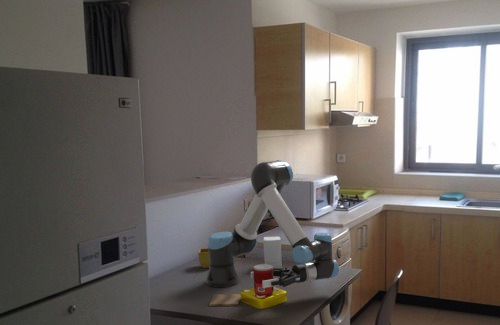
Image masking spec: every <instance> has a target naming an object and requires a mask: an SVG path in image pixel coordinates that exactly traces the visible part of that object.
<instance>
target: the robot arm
mask: <svg viewBox="0 0 500 325" xmlns="http://www.w3.org/2000/svg"><path fill="white" fill-rule="evenodd" d="M250 174H251V175H250V184H251V186H252V188H253V191H254V192H255V195H254V196H253V199H252V200H251V202H250V204H249V205H248V208H247V211H246V212H245V214H244V216H243V218H242V220H241V222H240V223H238V224H236V225H235V226H234V229H233V231H232V232H231V231H219V232H214V233H212V234H211V235H209V237H208V244H207V248H209V266H210V267H209V268H208V271H207V272H208V273H207V275H206V285H207V286H209V287H212V288H213V287H214V288H228V287H231V286H232V287H233V286H235V285H237V284H238V283H239V275H238V273H237V270H236V267H235V262H234V261H235V260H234V258H236V257H239V256H244V255H246V254H247V255H248V254H249V253H251V252H253V251H254V250H255V249H256V247H257V245H258V240H257V239H258V232H257V231H258V229H259V227H260V225H261V223H262V221H263V220H264V218H265V216H266V214H267V212H268V211H269V212H270V214H271V215H272V217H273V218H274V220H275V222H276V223H277V225H278V227H279V228H280V230H281V232H282V233H283V235H284V236H285V238H286V239H287V241H288V243H289V244H290V246H291V248H292V252H291V255H292V259H293V261H294V262H295V263H296V264H294V265H293V266H292V268H291V269H290V268H288V267H282V268H273V277H276V278H273V279H271V280H264V281H262V283H263V288H267V287H277V286H279V287H283V288H286V287H288V286H291V285H292V284H296V283H297V284H299V283H304V282H308V283H311V282H312V281H317V280H324V279H325V280H326V279H331V278H335V277H337V276H338V275H339V273H340V267H339V264H338V262H337V260H336V259H333V241H332V240H333V239H332V234H330V233H328V232H317V233H314V235H313V240H312V241H310V239H309V237H308V236H307V234H306V233H305V231H304V230H303V229H302V228H303V227H302V226H301V225H300V224H299V222H298V220H297V219H296V216H295V215H294V214H293V213H292V211H291V210H290V208H289V206H288V204H287V203H286V202H285V199H284V198H283V197H282V195H281V192H282V191H283V189H284V187H285V186H287V185H290V184H291V182H292V181H293V178H294V171H293V168H292V166H291V165H290V164H289V163H288V162H286V161H284V160H280V159H279V160H272V161H262V162H260V163H257V164H256V165H255V166H254V167H253V168H252V171H251V173H250ZM277 277H278V278H277ZM250 279H252V280H254V271H251V272H250Z"/></svg>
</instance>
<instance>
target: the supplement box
mask: <svg viewBox="0 0 500 325" xmlns="http://www.w3.org/2000/svg"><path fill="white" fill-rule="evenodd" d="M281 243H282V242H281V237H280V236H263V256H264V257H263V260H264V263H263V264H269V265H272V266H273V268H283V267H282V266H283V265H282V244H281Z"/></svg>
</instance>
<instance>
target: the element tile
mask: <svg viewBox="0 0 500 325" xmlns="http://www.w3.org/2000/svg"><path fill="white" fill-rule="evenodd" d="M273 287H274V291H273V293H272V294H270V295H266V296H261V295H257V294H255V292H254V286H253V287H251V288H246V289H244V290H240V291H239V294H240V295H241V298H240V302H242V303H244V304H246V305H248V306H251V307H254V308H256V309H260V310H262V309H263V310H264V309H267V308H270V307H273V306H277V305H280V304H283V303H285V302H287V300H288V297H287V291H286V290H284V289H281V288H278V287H277V286H273Z"/></svg>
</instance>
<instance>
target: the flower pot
mask: <svg viewBox="0 0 500 325" xmlns="http://www.w3.org/2000/svg"><path fill="white" fill-rule="evenodd" d="M197 253H198V261H199V264H200V266H201V267H202V268H203V269H207V268H208V269H209V267H210V266H209V248H208V247H207V248H200V249H199V250H198V252H197Z"/></svg>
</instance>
